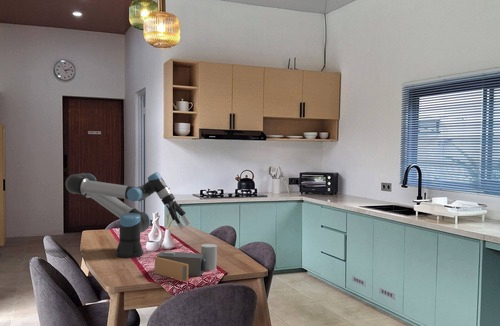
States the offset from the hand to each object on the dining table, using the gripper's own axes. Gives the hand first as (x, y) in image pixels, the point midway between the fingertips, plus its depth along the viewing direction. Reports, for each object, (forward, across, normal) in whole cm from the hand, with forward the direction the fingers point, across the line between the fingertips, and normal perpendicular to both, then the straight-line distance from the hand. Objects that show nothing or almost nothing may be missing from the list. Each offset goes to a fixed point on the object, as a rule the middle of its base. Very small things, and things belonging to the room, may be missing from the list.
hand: (185, 226), depth 279 cm
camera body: (+18, -43, +2) cm, 47 cm away
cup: (+25, -32, -8) cm, 41 cm away
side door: (+17, -54, +3) cm, 57 cm away
